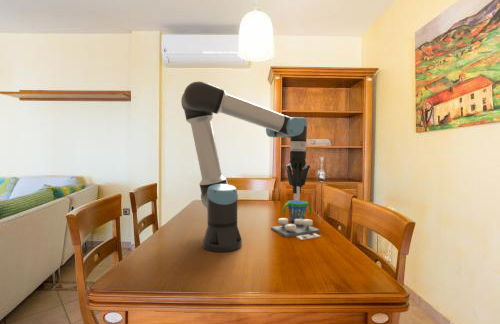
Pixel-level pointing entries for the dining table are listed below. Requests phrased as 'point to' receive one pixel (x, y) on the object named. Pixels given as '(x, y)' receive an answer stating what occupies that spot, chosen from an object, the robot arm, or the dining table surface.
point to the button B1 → (307, 222)
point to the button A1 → (290, 227)
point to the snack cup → (297, 209)
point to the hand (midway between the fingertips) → (296, 200)
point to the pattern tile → (308, 236)
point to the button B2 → (298, 222)
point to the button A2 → (283, 221)
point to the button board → (299, 230)
